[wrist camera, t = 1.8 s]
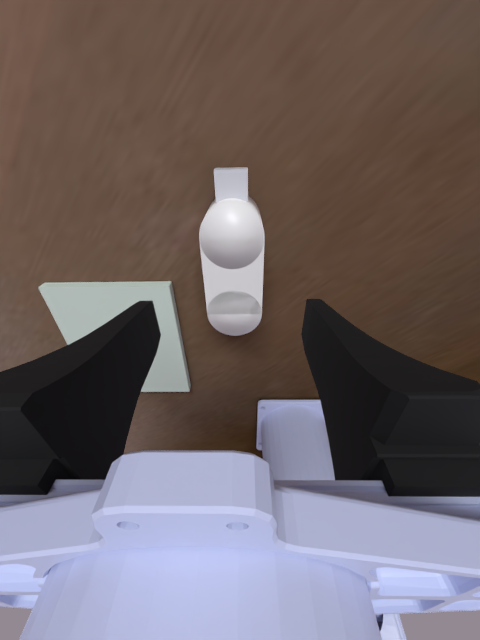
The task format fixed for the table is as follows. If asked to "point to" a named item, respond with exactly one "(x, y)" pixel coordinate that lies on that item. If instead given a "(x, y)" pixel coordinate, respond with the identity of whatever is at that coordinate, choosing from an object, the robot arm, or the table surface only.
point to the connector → (232, 255)
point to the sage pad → (109, 301)
